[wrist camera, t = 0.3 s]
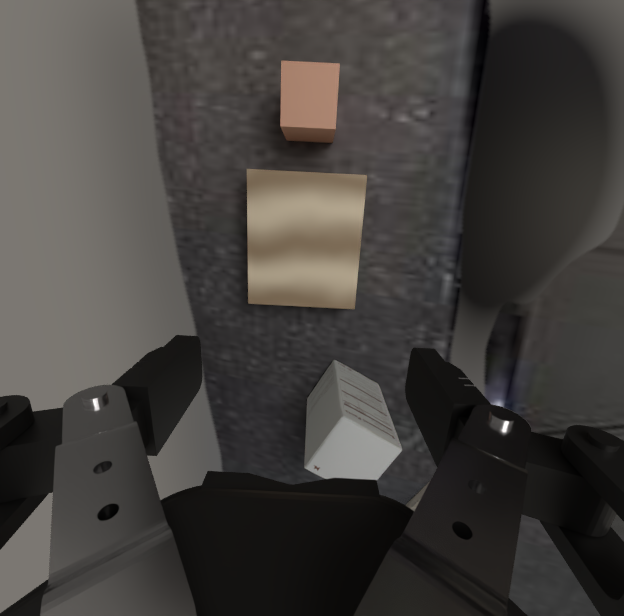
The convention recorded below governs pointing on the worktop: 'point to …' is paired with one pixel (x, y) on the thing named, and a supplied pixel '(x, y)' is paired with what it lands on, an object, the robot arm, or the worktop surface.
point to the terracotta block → (309, 100)
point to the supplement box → (348, 427)
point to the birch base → (304, 237)
